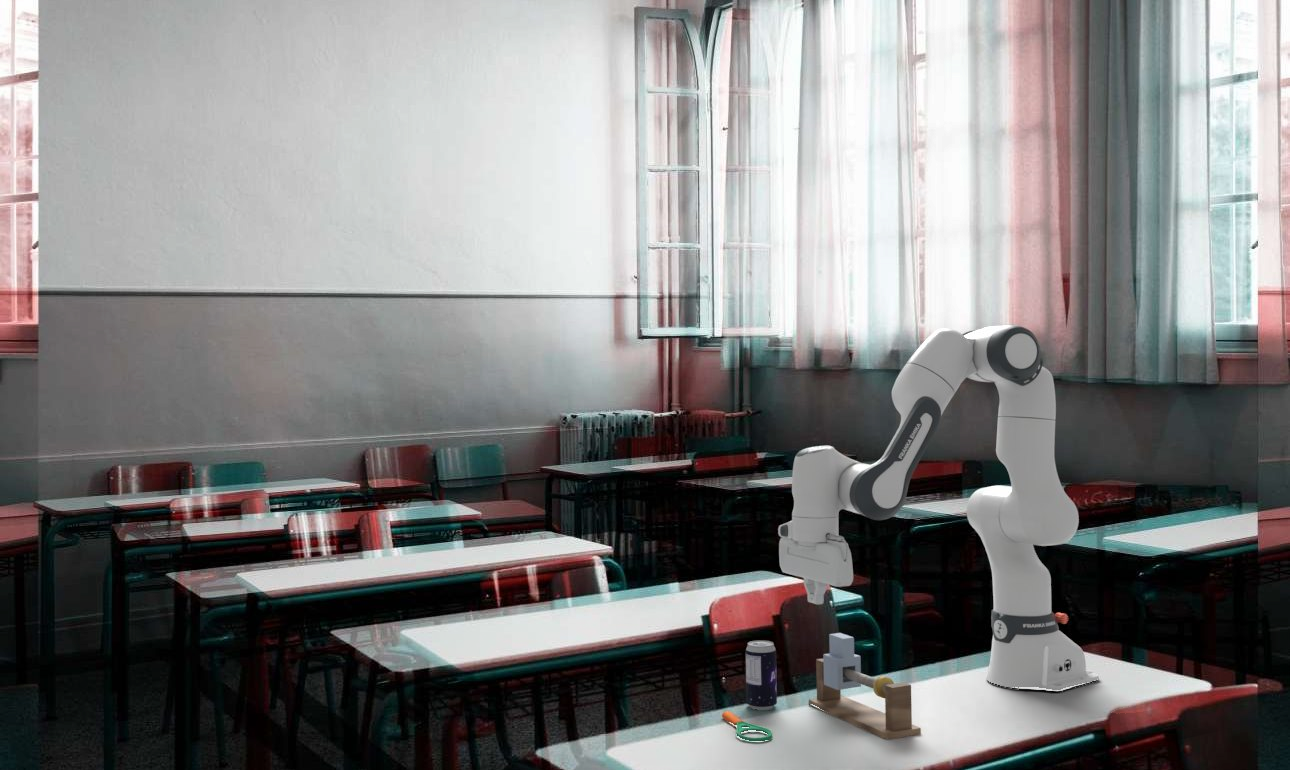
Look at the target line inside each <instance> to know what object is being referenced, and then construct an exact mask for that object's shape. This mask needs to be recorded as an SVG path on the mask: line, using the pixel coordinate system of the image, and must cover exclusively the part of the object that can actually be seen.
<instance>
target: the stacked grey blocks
mask: <svg viewBox="0 0 1290 770" xmlns="http://www.w3.org/2000/svg"><path fill="white" fill-rule="evenodd" d="M828 635H829V637H828V639H829V642H828V644H829V653H824V654H823V655H822V656H823V658H822V659H823V663H824V685H826V686H829V687H831V688H834V689H836V690H847V689H852V688H858V687H862V684H860V683H857V682H855V681H852V680H849V679H847V678H844V677H843V667H846V668H848V669H851V670H854V671H857V672H859V673H862V668H861V667H862V666H861V665H862V664H861V663H862V662H861V661H862V660H861V659H862V657H861V655H859V654H855V638H854V637H853V636H850V635H848V634H845V633H842V632H836V633H829V634H828Z"/></svg>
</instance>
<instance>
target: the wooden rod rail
mask: <svg viewBox="0 0 1290 770" xmlns="http://www.w3.org/2000/svg"><path fill="white" fill-rule="evenodd" d="M815 665H816V698H809V699H808V704H809V703H810V704H813V705H815V706H817V707H819V708H820V709H822V710H824V711H826V712H828V713H830V714H829V715H830V716H833V717H835V718H838V719H840V720H842V721H844V722H846V723H849V724H851V725H854V726H856V727H858V728H861V729H862V730H865V731H867V732H870V733H872V734H874V735H876V736H878V737H881V738H883V739H886V740H893V739H894V740H895V739H899V738H905V737H911V736H915V735H921V734H922V729H921V727H919V726H917V725H915V724H912V723H913V722H912V721H913V718H912V711H913V710H912V684H910V683H907V682H905V681H904V682H897V683H894V681H893V679H891V678H890V677H887V676H885V675H880V676H878V677H877V678H875V677H872V676H870V675H867V674H864V673H862V672H861V673H859V672H857V671H854V670H851V669H848V668H846V667H843V677H844V678H847V679H849V680H852V681H855V682H857V683H860V684H861V686H865V687H868V688H870V689H873V692H874V694H875V695H876V696H877V697H880V698H882V699H884V703H885V704H884V706H885V708H884V709H885V710H884V711H885V712H882V711H880V710H877V709H875V708H873V707H871V706H868V705H866V704H863V703H861V702H858V701H856V700H853V699H851V698H849V697H847V696H844V695H841V693H842V692H841V690H842V689H841V690H836V689H834V688H831V687H829V686H826V685H824V663H823V658H816V660H815ZM822 710H821V711H822ZM824 711H823V712H824ZM826 712H825V713H826ZM828 713H827V714H828Z"/></svg>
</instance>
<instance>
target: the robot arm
mask: <svg viewBox="0 0 1290 770" xmlns="http://www.w3.org/2000/svg"><path fill="white" fill-rule="evenodd" d="M1043 362H1044V361H1043V359H1042V351H1041V347H1040V343H1039V341H1038V339H1037V337H1036V335H1035V334H1034V333H1033V332H1032V331H1031V330H1030V329H1028V328H1026V327H1023V326H1020V325H1015V324H1007V325H1005V324H1004V325H992V326H985V327H984V328H981V329H976V330H974V329H973V330H970V331H967V332H965V333H963V334H962V333H961V332H959V331H957V330H954V329H951V328H940V329H937V330H935V331H933V332H932V333H931V334H929V336H928V337H927V338H926V339H925V340H924V341H923V342H922V343H921V344H920V345H919V347H918V348H917V349H916V350H915V352H913V354H912V355H911V357H909V359H908V360H907V362H906V363H905V365H903V368H902V369H901V370H900V371H899V374H898V376H897V377H896V379H895V381H894V383H893V386H892V390H891V399H892V400H891V401H892V403H893V405H894V408H895V409H896V410H897V411H898V413H899V415H900V423H899V426H898V428H897V429H896V432H895V434H894V435H893V437H892V439H891V441H890V442H889V444H888V446H887V447H886V449H885V451H884V453H883V455H882V456H881V457H880V459H878V460H877V461H876V462H874V463H872V464H868V463H863V462H860V461H857V460H855V459H852V458H850V457H848V456H846V455H844V454H842V453H841V452H839V451H838V450H837V449H835V447H834V446H831V445H819V446H818V445H816V446H810V447H806V448H803V449H801V450H799V451H798V452H797V453H796V455H795V457H794V461H793V466H792V474H791V475H792V479H791V494H792V497H793V509H792V512H791V520H790V521H788V522H785V523H783V524H780V525H778V528H777V531H778V532H777V534H778V536H779V537H780V539H779V542H778V557H779V558H778V559H779V561H778V562H779V567H780V569H781V572H782V573H785V574H788V575H792V576H795V577H800V578H802V579H803V585H804V588H805V590H806V591H805V592H806V595H807V602H808V603H810V604H811V603H812V604H814V605H824V601H825V600H824V598H825V597H824V596H825V593H826V592H827V589H828V586H832V587H833V586H834V587H836V588H837V587H849V586H851V585H852V583H853V582H854V569H853V558H852V552H851V549H850V547H849V543H848V542H847V540H846V539H845V537H844V536H842V535H839V533H840V532H839V529H840V528H839V512H840V511H841V510H845V511H848V512H852V513H855V514H857V515H861V516H864V517H866V518H868V519H870V520H874V521H884V520H885V521H886V520H888V519H890V518H893V517H894V516H895V515H897V514H898V513H899V512H900V511H901V509H902V508H903V506H904V504H905V501H906V499H907V494H908V490H909V485H910V481H911V479H912V476H913V474H914V472H915V470H916V469H917V466H918V465H919V462H920V461H921V459H922V457H923V455H924V453H925V452H926V450H927V448H928V446H929V444H930V442H931V441H932V439H933V437H934V435H935V433H936V431H937V429H938V426H939V424H940V420H941V418H942V415H943V414H944V411H945V410H946V408H947V406H948V405H949V403H950V401H951V400H952V399H953V397H954V396H955V393H956V392H957V390H958V389H959V387H960V386H961V384H962V383H963V382H964V381H965V380H967V381H969V382H974V383H978V382H979V383H981V382H983V383H994V384H995V386H996V389H997V392H998V396H999V404H998V410H997V411H998V414H997V430H996V441H995V442H996V445H995V446H996V447H995V453H996V456H997V458H998V460H999V461H1000V463H1002V464H1003V465H1004V467H1005V468H1006V470H1007V472H1008V475H1009V480H1010V485H1002V484H1000V485H999V484H998V485H997V484H995V485H991V486H987V487H986V486H985V487H981V488H979V489H977V490H975V491H974V492H973V493H972V494H971V495H970V497H969V499H968V501H967V504H966V518H967V521H968V523H969V525H970V526H971V527H972V528H973V529H974V531H975V532H976V533H977V534H978V536H979V537H980V540H981V542H982V544H983V546H984V548H985V552H986V554H987V558H988V561H989V565H990V569H991V570H990V571H991V577H992V596H993V598H992V599H993V609H991V616H990V618H991V628H992V639H991V649H990V660H989V666H988V668H987V673H986V674H987V675H986V677H985V679H987V680H988V681H989V682H988V681H987V680H986V681H987V682H988V683H990V682H991V683H990V684H992V683H994V684H993V685H995V684H997V685H996V686H998V685H1000V686H999V687H1001V686H1006V687H1014V688H1015V687H1018V688H1019V687H1039V688H1046V689H1052V690H1061V689H1063V688H1066V687H1070V686H1074V685H1078V684H1082V683H1087V682H1091V681H1094V680H1097V679H1099V680H1100V676H1099V675H1098V674H1097V673H1096V672H1094V671H1092V670H1089V669H1087V663H1086V656H1085V653H1084V651H1083V649H1082V648H1081V647H1080V646H1079V645H1078V644H1077V643H1075V642H1074V641H1073V640H1072V639H1071V638H1069V637H1068V636H1067V635H1066V634H1064V633H1063V632H1062V631H1061V630H1059V629H1060V628H1059V625H1058V623H1061V624H1063V625H1065V624H1067V623H1068V621H1069V616H1068V615H1067V613H1063V612H1062V613H1061V612H1056V613H1054V612H1053V611H1052V585H1051V584H1052V577H1051V573H1050V570H1049V569H1048V568H1047V567H1046V566H1045V565H1044V563H1042V561H1041V560H1040V559H1039V557H1038V555H1037V553H1036V550H1035V546H1039V547H1040V546H1041V547H1047V546H1058V545H1063V544H1064V545H1065V544H1066V543H1068V542H1069V541H1070V540H1071V539H1072V538H1073V537H1074V536H1075V534H1076V533H1077V530H1078V527H1079V523H1080V521H1079V520H1080V519H1079V517H1080V516H1079V510H1078V508H1077V506H1076V504H1075V502H1074V501H1073V500H1072V499H1071V498H1070V497H1069V496H1068V494H1067V493H1066V492H1065V490H1064V488H1063V486H1062V484H1061V480H1060V478H1059V475H1058V471H1057V465H1056V458H1055V439H1056V438H1055V437H1056V417H1057V416H1056V414H1057V407H1056V406H1057V404H1056V403H1057V401H1056V389H1055V383H1054V376H1053V375H1052V373H1051V371H1049V370H1048V369H1047V368H1046V367H1044V366H1043V364H1044V363H1043ZM1006 687H1005V688H1006Z"/></svg>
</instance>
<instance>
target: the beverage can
mask: <svg viewBox="0 0 1290 770" xmlns="http://www.w3.org/2000/svg"><path fill="white" fill-rule="evenodd" d="M745 682H746V683H745V685H746V687H745V688H746V689H745V690H746V693H745V696H746V698H745V699H746V704H747V705H748V706H749V707H750V708H751V709H753V710H755V709H757V710H756V711H768V710H772V709H773V708H774V706H775V705H777V703H778V692H777V690H778V689H777V685H778V684H777V650H776V647H775V644H774V642H773V641H770V640H752V641H749V642H747V646H746V649H745Z"/></svg>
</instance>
